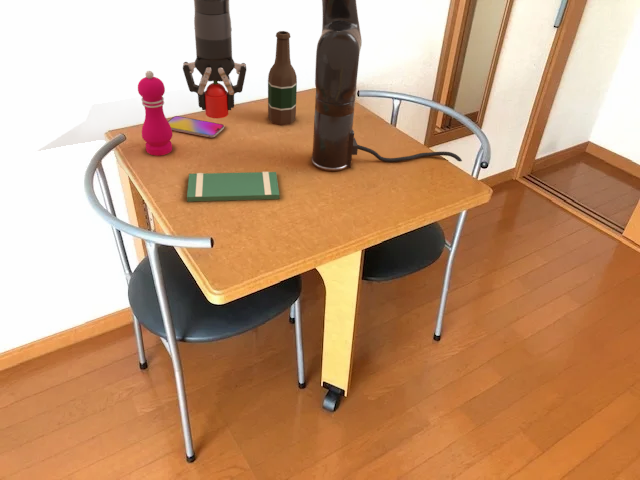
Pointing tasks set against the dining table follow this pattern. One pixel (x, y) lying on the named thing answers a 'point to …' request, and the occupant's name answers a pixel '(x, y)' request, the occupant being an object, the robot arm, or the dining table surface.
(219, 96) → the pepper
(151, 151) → the pepper mill
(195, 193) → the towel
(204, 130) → the smartphone
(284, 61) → the beer bottle
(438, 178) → the dining table surface
